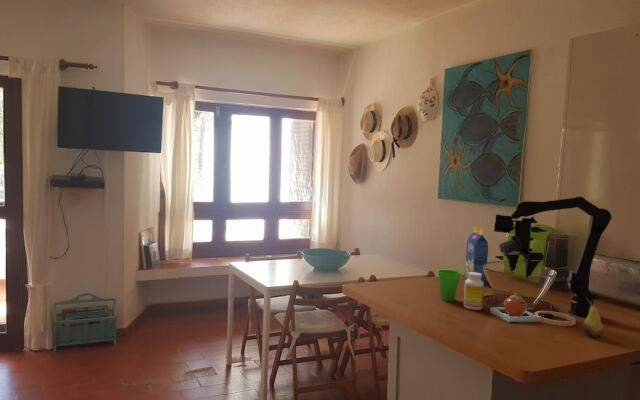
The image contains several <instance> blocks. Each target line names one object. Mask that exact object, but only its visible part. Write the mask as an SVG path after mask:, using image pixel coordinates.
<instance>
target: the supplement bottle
mask: <svg viewBox="0 0 640 400" xmlns="http://www.w3.org/2000/svg"><path fill="white" fill-rule="evenodd" d="M468 277H469V279H465V281H464V291H463V292H464V293H463V307H464V308H466V309H469V310H475V311H480V310H481V309H483V302H484V287H485V285H484V284H485V283H483V281H481V277H482V274H480V273H476V272H469V273H468Z"/></svg>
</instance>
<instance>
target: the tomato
mask: <svg viewBox="0 0 640 400" xmlns="http://www.w3.org/2000/svg"><path fill="white" fill-rule="evenodd" d="M503 308H505V310H506V312H507V313H508V315H510V316H512V317H519V316H522V315H523V314H524V312H525V310H526V311H527V302H526V301H525V300H524V299H523V297H522V296H519V295H518V293H517V292H515V293H514V294H513V295H510V296H509V297H506V298H505V299H504V301H503Z"/></svg>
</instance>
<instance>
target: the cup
mask: <svg viewBox="0 0 640 400" xmlns="http://www.w3.org/2000/svg"><path fill="white" fill-rule="evenodd" d="M437 273H438V281H439V282H438V283H439V291H440V298H441V300H443V301H445V302H447V301H448V302H453V301H455V300H456V295H457V290H458V286H459V282H460V278H461V274H462V272H461V271H459V270H455V269H449V268H448V269H447V268H440V269H437Z"/></svg>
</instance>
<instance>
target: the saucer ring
mask: <svg viewBox="0 0 640 400" xmlns="http://www.w3.org/2000/svg"><path fill="white" fill-rule="evenodd" d="M540 313H549V314H552V315H553V316H552V317H557V318H560V319H564V320H555V319H549V318H545V317H543V316H542V315H540V316H539V315H538V314H540ZM533 314H535V315H537V316H539V317H540V319H539V322H541V323H544V324H547V325H553V326H557V327H558V326H559V327H572V326H574V325H576V322H577V321H576V318H575V317H574V316H571V315H570V314H566V313H563V312H557V311H552V310H551V311H550V310H538V311H535V312H534V313H533Z"/></svg>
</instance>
